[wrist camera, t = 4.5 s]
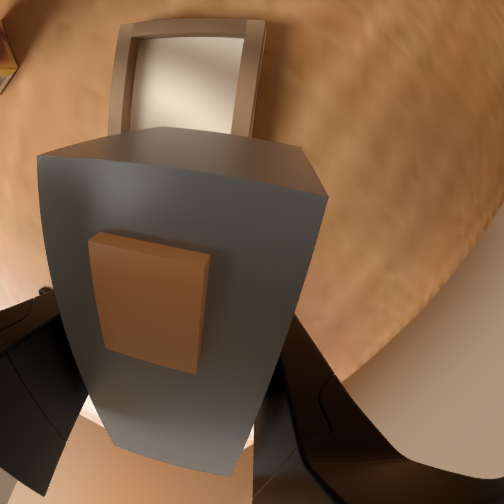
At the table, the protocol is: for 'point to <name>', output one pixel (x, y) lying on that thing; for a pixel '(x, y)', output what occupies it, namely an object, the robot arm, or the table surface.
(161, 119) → the tray
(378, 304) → the table surface
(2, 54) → the candy box
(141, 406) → the grey box with label
